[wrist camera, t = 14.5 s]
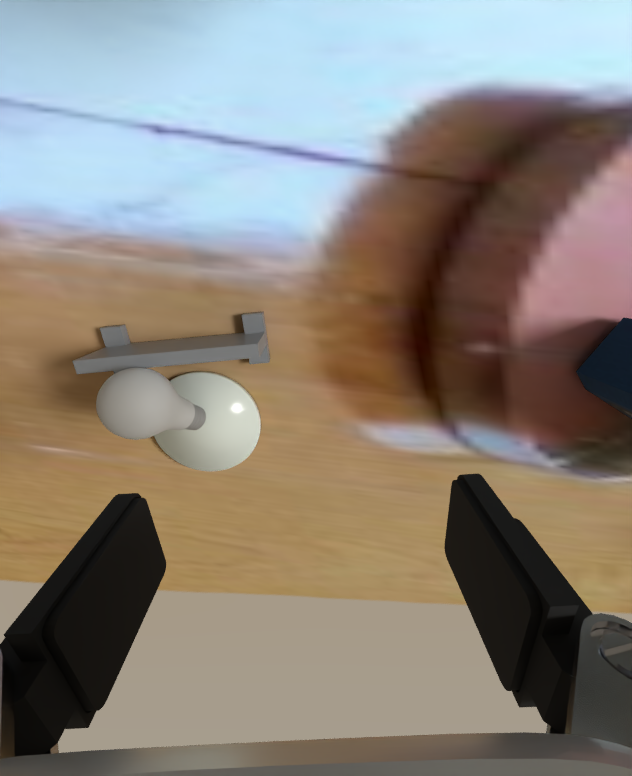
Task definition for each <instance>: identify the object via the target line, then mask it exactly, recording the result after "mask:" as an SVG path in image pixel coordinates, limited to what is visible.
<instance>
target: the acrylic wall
mask: <svg viewBox="0 0 632 776" xmlns="http://www.w3.org/2000/svg"><path fill="white" fill-rule="evenodd" d="M242 320H243V326H244V332H245V333H234V334H223V335H212V336H202V337H191V338H180V339H169V340H159V341H148V342H137V343H130V340H129V336H128V333H127V329H126V326H125V325H116V326H105V327H102V328H100V331H101V334H102V337H103V340H104V343H105V348H102V349H100V350H98V351H95V352H93V353H90V354H88V355H85V356H83V357H81V358H78V359H76V360H73V364H74V367H75V370H76V373H77V374H84V373H95V372H106V371H113V372H114V374H115V373H117V372H119V371H122V370H125V369H129V368H149V367H160V366H171V365H182V364H193V363H204V362H215V361H226V360H237V359H248V358H249V363H250V364H257V363H268V362H270V355H269V348H268V341H267V334H266V327H265V320H264V313H263V312H254V313H244V314H242Z"/></svg>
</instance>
